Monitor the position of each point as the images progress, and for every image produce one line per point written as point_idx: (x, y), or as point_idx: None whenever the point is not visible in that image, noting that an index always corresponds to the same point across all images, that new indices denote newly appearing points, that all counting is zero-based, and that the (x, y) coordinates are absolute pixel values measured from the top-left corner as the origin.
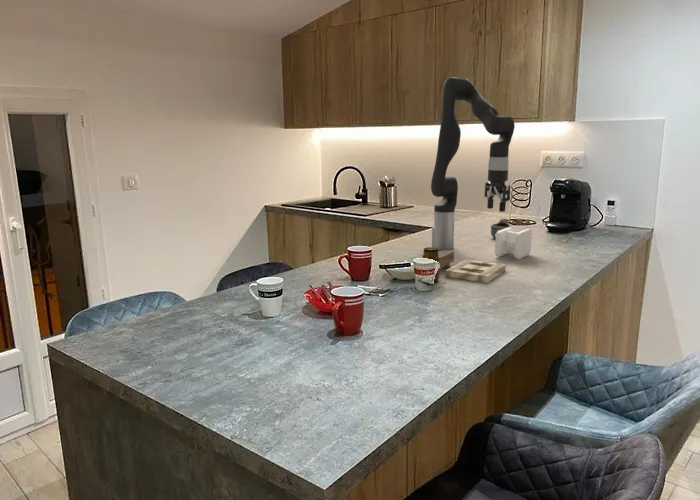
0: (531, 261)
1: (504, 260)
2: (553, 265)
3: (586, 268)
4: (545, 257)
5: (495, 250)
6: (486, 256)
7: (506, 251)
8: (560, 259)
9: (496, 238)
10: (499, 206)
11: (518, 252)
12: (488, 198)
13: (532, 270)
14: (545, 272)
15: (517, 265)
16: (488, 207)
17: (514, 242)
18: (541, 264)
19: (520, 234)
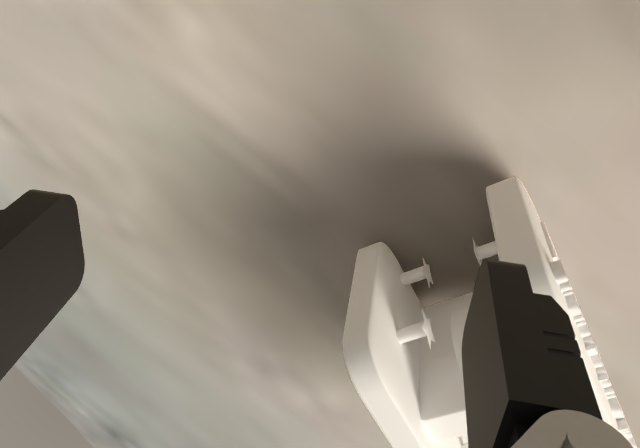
0: (311, 290)
1: (415, 172)
2: (187, 318)
3: (89, 389)
4: (353, 405)
5: (514, 188)
6: (590, 142)
7: (477, 259)
8: (283, 426)
9: (525, 242)
10: (11, 238)
11: (355, 269)
12: (532, 429)
13: (122, 147)
14: (63, 179)
15: (261, 153)
16: (486, 266)
17: (418, 323)
18: (228, 285)
19: (349, 374)
